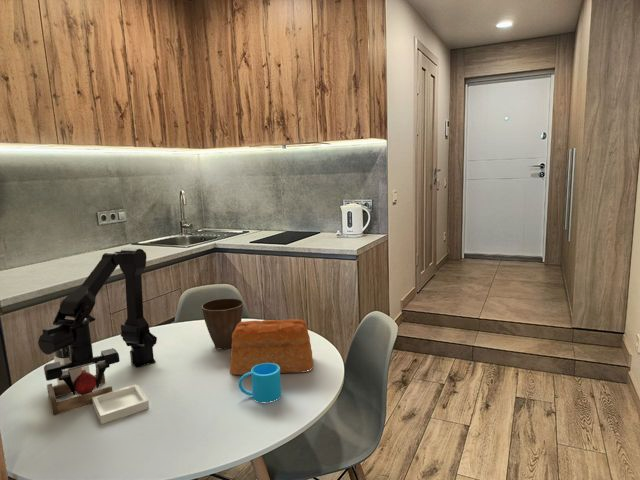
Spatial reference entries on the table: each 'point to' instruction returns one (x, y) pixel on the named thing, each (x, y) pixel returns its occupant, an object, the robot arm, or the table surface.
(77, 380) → the onion
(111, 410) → the tray
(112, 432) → the table surface
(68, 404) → the bay
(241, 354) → the bread
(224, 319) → the plant pot
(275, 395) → the mug
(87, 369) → the jar
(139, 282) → the robot arm
